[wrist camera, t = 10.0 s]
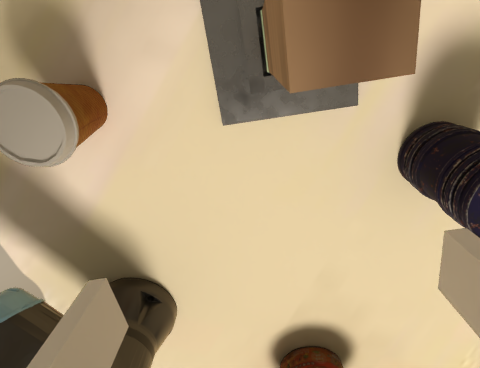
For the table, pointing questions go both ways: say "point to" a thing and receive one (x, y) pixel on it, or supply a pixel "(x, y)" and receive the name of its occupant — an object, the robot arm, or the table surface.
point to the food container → (311, 358)
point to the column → (339, 41)
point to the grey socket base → (255, 68)
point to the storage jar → (445, 169)
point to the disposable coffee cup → (46, 120)
